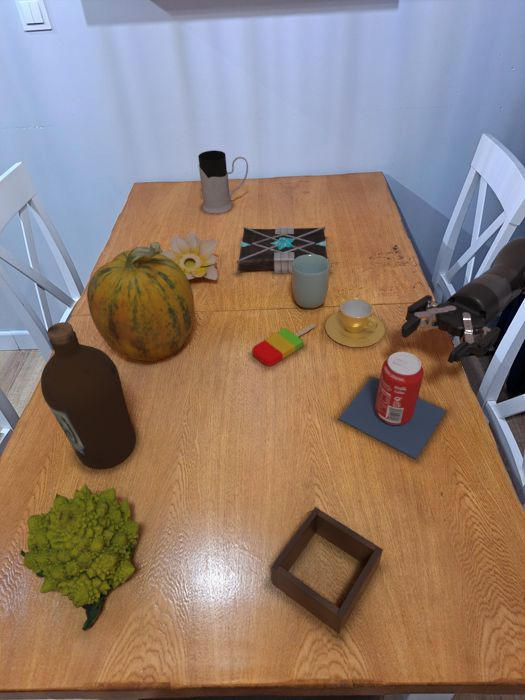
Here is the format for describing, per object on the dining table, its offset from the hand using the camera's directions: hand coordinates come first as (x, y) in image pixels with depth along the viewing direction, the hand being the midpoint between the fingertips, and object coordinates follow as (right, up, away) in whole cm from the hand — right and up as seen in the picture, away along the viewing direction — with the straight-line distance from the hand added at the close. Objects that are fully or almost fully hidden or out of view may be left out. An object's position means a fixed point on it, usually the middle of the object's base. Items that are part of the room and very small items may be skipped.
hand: (426, 345), depth 78 cm
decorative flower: (-44, +17, +40) cm, 61 cm away
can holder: (-18, -30, -14) cm, 38 cm away
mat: (-4, -12, +5) cm, 14 cm away
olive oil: (-52, -17, +3) cm, 54 cm away
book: (-21, +23, +45) cm, 55 cm away
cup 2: (-7, +3, +23) cm, 24 cm away
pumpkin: (-48, 0, +21) cm, 53 cm away
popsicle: (-21, 0, +20) cm, 29 cm away
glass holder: (-37, +42, +67) cm, 87 cm away
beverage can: (-4, -12, +5) cm, 13 cm away
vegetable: (-49, -29, -11) cm, 58 cm away
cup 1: (-16, +10, +30) cm, 35 cm away
